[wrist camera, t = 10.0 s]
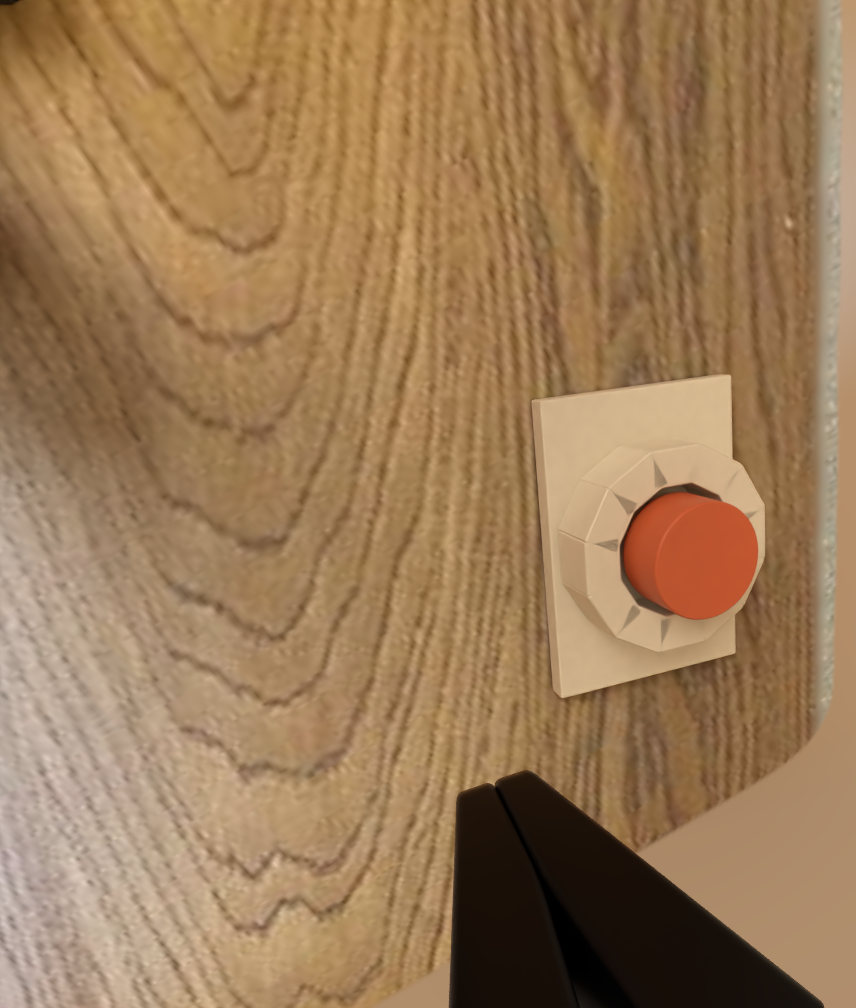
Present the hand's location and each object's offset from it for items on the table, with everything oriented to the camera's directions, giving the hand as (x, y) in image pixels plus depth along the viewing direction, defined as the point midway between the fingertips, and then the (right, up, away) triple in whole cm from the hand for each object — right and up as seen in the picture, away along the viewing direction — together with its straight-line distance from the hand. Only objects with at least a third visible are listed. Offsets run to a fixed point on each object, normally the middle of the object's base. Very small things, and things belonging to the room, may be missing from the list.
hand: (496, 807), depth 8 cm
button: (+7, +2, +15) cm, 17 cm away
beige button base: (+6, +2, +17) cm, 18 cm away
